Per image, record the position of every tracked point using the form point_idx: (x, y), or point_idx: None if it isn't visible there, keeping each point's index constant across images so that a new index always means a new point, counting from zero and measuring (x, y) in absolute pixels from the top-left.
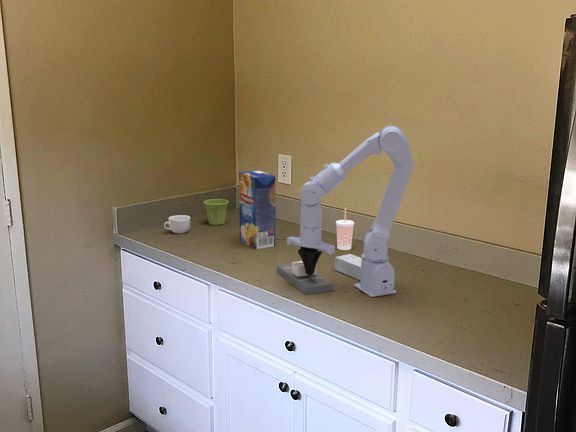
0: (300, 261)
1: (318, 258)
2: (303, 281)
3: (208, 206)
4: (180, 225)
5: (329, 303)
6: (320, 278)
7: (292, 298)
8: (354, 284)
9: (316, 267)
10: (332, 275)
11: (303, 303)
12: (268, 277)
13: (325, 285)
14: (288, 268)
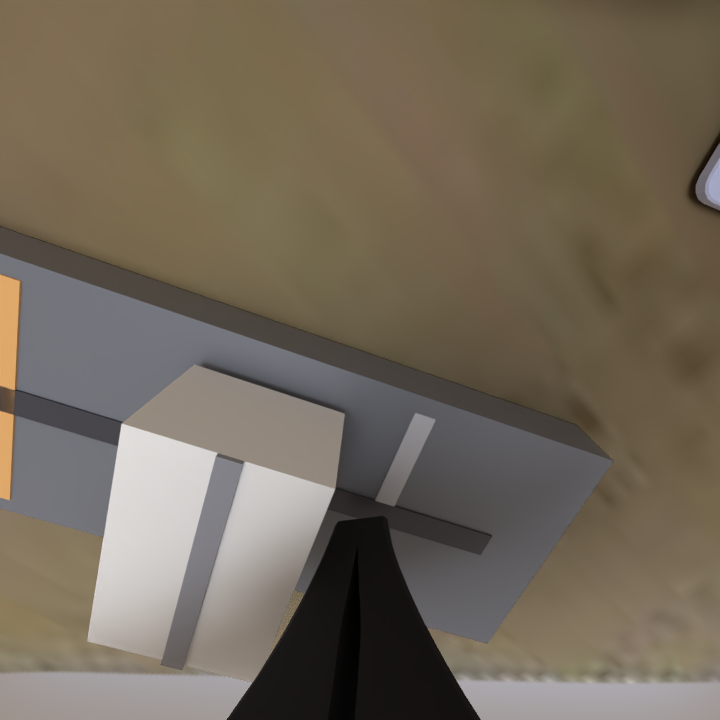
0: (115, 567)
1: (459, 692)
2: None
3: None
4: None
5: (687, 588)
6: (431, 441)
7: (451, 663)
8: (713, 197)
9: (336, 466)
10: (305, 104)
11: (551, 670)
12: (45, 550)
13: (569, 513)
14: (15, 462)
